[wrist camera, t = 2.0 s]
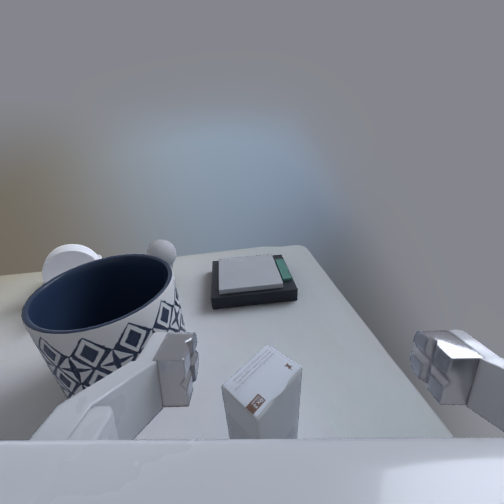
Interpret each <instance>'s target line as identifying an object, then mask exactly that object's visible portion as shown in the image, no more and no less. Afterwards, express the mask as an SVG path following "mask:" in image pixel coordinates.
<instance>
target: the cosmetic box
mask: <svg viewBox="0 0 504 504" xmlns="http://www.w3.org/2000/svg"><path fill="white" fill-rule="evenodd" d="M301 380H302V367H301V366H300V365H298V364H297V363H295V362H294V361H292V360H291V359H289V358H288V357H286V356H285V355H283V354H282V353H280V352H279V351H277V350H276V349H274V348H272V347H271V346H269V345H265V346H264V347H263V348H262V349H261V350H260V351H259V352H258V353H257V354H256V355H254V356H253V357H252V358H251V359H250V360H249V361H248V362H247V363H246V364H245V365H244V366H243V367H242V368H240V369H239V370H238V371H237V372H236V373H235V374H234V375H233V376H232V377H231V378H230V379H229V380H227V381H226V382H225V383H224V384H223V385H222V387H221V388H222V395H223V401H224V407H225V413H226V419H227V425H228V431H229V438H230V439H297V433H298V419H299V406H300V393H301Z"/></svg>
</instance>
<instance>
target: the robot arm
mask: <svg viewBox="0 0 504 504" xmlns="http://www.w3.org/2000/svg"><path fill="white" fill-rule="evenodd" d="M413 341H414V343H415V345H416V347H415V348H414V349H413V350H412V351H411V356H410V362H411V367H412V369H413V371H414V373H415V374H416V376H417V377H418V378H419V379H421V380H422V381H424V382H425V383H427V389H428V391H429V392H430V393H431V394H432V395H433V397H434V398H435V399H436V400H437V402H438V403H439V404H440V405H467V407H468V408H469V409H471V410H472V411H474V412H475V413H477V414H478V415H480V416H481V417H483V418H484V419H486V420H487V421H488V422H490V423H491V424H493V425H494V426H496V427H497V428H499V429H500V430H502V431H503V432H504V358H500V357H498V356H497V355H496V354H494V353H493V352H492V351H490V350H489V349H487V348H486V347H485V346H484V345H482V344H481V343H479V342H478V341H477V340H475V339H474V338H473V337H471V336H470V335H469V334H467V333H466V332H465V331H462V330H445V331H417V332H416V333H415V335H414V339H413ZM196 345H197V335H196V333H194V332H169V333H168V332H155V333H153V334H152V336H151V337H150V339H149V341H148V342H147V344H146V345H145V347H144V349H143V350H142V352H141V353H140V355H139V356H138V358H137V360H136V361H131V362H129V363H127V364H126V365H124V366H122V367H121V368H119V369H117V370H116V371H114V372H112V373H111V374H109V375H107V376H106V377H104V378H102V379H101V380H99V381H97V382H96V383H94V384H92V385H91V386H89V387H87V388H86V389H84V390H82V391H81V392H79V393H77V394H76V395H74V396H72V397H71V398H69V399H67V400H66V401H64V402H62V403H61V404H59V405H58V406H57V407H56V408H55V409H54V410H53V412H52V413H51V414H50V415H49V416H48V417H47V419H46V420H45V421H44V422H43V423H42V425H41V426H40V427H39V428H38V429H37V430H36V432H35V433H34V434H33V435H32V436H31V438H30V439H29V440H0V504H504V438H342V439H181V440H133V439H134V438H135V437H136V436H137V435H138V434H139V433H140V432H141V431H142V430H143V429H144V428H145V427H146V426H147V425H148V424H149V423H150V422H151V421H152V419H153V418H154V417H155V416H156V415H157V414H158V413H159V412H160V411H161V410H162V409H163V407H183V406H189V403H190V399H191V396H192V392H193V384H192V383H193V382H194V381H195V380H196V377H197V373H198V365H199V358H198V352H197V351H196V350H195V348H196Z"/></svg>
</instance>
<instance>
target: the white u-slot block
mask: <svg viewBox="0 0 504 504" xmlns="http://www.w3.org/2000/svg"><path fill="white" fill-rule="evenodd" d="M98 259H102V257H101V255H97V254H96V253H95V252H94V251H93V250H91V249H89V248H88V247H86V246H82V245H77V244H69V245H63V246H60V247H57V248H56V249H54V250H53V251H52V252H51V253H50V254H49V255H48V256H47V258H46V260H45V263H44V266H43V270H42V276H43V280H44V282H45V283H46V282H48V281H49V280H51V279H52V278H54V277H56V276H58V275H59V274H61V273H63V272H65V271H68V270H70V269H72V268H74V267H77V266H79V265H82V264H85V263H88V262H91V261H94V260H98Z"/></svg>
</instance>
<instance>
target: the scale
mask: <svg viewBox="0 0 504 504" xmlns="http://www.w3.org/2000/svg"><path fill="white" fill-rule="evenodd" d="M297 290H298V289H297V287H296V285H295V283H294V281H293V279H292V276H291V274H290V272H289V270H288V268H287V266H286V264H285V261H284V259H283V257H282V255H273V256H272V254H265V255H255V256H244V257H234V258H224V259H219V261H213V266H212V291H211V301H212V308H213V309H220V308H229V307H238V306H247V305H256V304H265V303H274V302H283V301H292V300H297Z"/></svg>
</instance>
